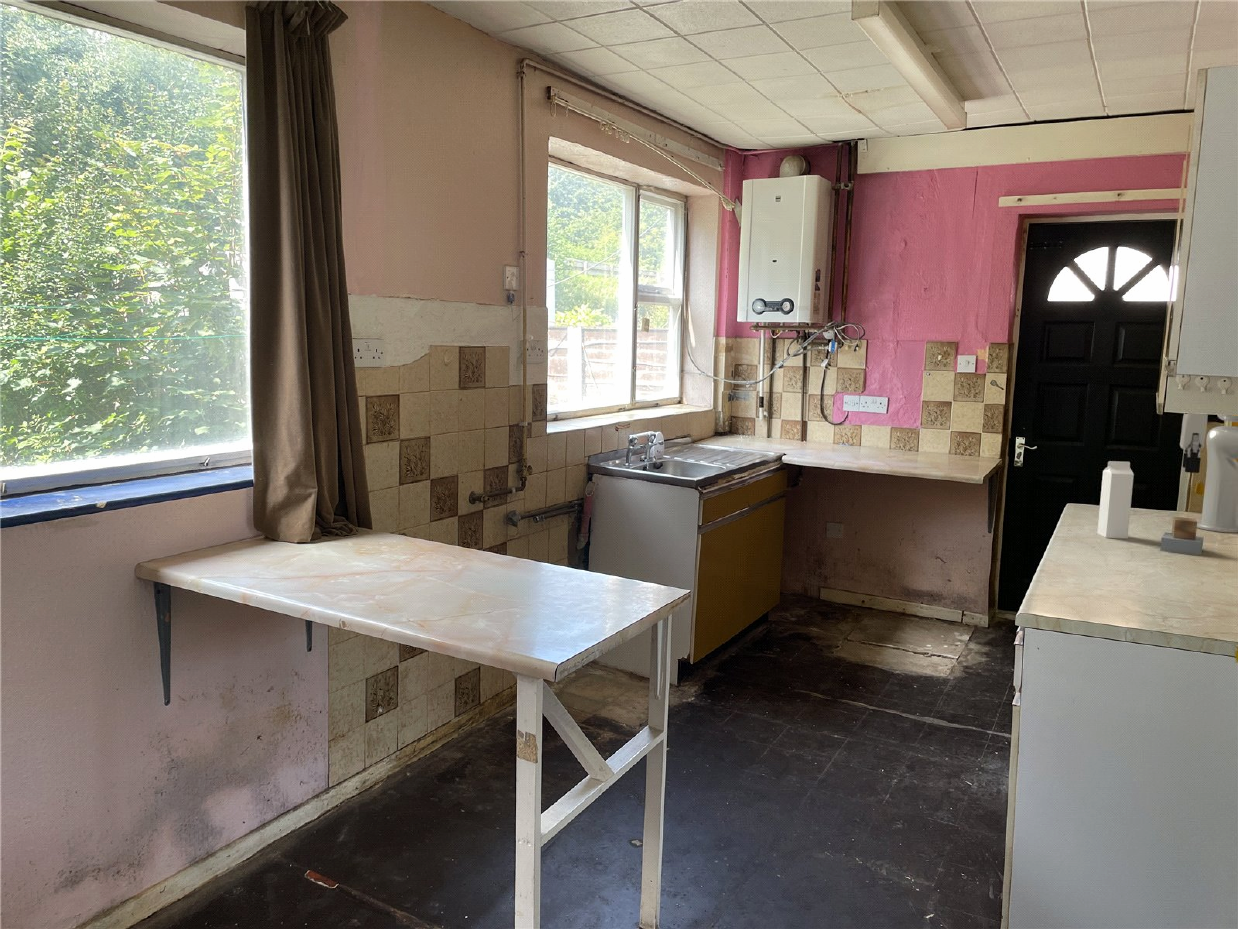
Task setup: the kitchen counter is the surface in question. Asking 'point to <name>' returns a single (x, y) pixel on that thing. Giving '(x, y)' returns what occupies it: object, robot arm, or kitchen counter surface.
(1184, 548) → the grey slab
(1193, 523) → the walnut cube
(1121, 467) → the milk
